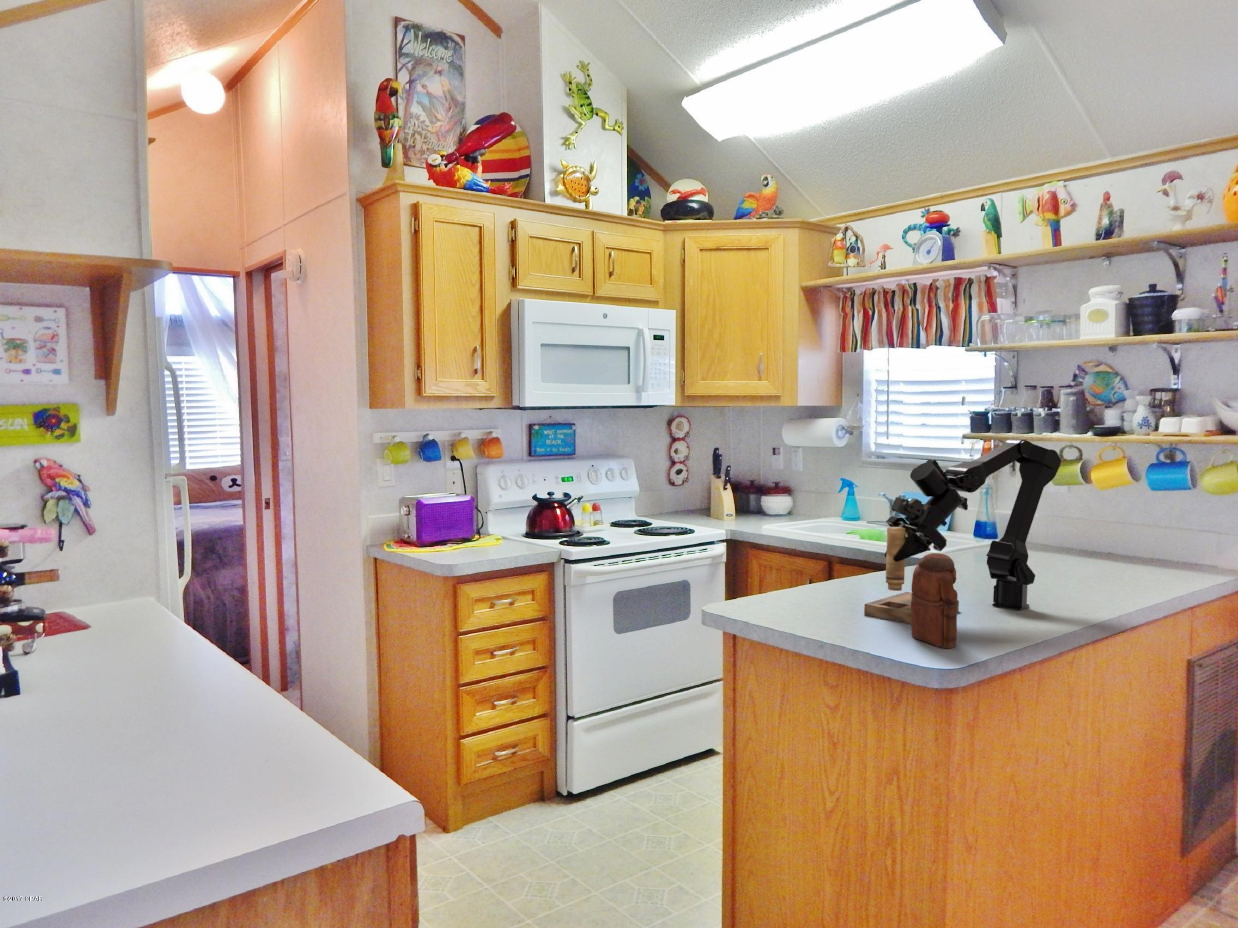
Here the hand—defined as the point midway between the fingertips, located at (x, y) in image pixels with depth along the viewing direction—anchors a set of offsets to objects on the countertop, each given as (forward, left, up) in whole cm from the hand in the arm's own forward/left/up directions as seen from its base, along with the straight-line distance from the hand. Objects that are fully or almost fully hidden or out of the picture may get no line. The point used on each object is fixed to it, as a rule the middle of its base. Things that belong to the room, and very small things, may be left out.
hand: (889, 558), depth 196 cm
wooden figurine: (-17, +13, -13) cm, 26 cm away
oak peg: (-1, -1, -7) cm, 7 cm away
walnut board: (-2, -7, -13) cm, 15 cm away
